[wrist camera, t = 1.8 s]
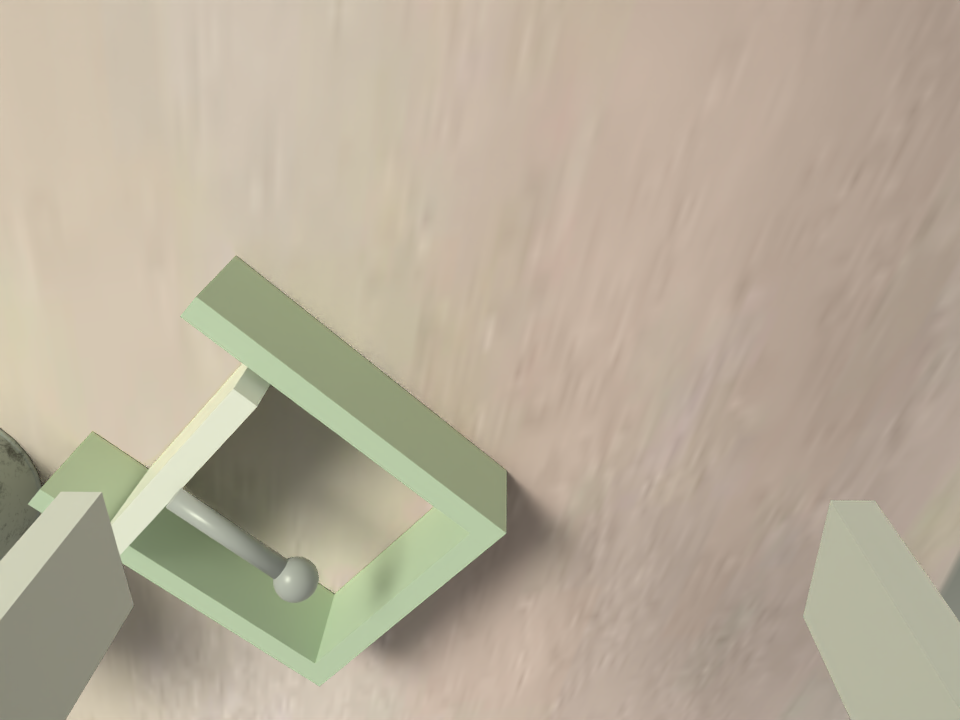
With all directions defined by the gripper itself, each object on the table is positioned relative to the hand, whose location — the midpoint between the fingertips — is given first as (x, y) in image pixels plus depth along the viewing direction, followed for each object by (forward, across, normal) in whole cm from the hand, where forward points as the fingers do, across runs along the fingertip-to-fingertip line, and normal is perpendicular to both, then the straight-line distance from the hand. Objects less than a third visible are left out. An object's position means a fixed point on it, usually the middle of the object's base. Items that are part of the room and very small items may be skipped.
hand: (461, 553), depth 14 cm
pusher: (+22, -11, -12) cm, 27 cm away
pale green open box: (+22, -11, -12) cm, 28 cm away
